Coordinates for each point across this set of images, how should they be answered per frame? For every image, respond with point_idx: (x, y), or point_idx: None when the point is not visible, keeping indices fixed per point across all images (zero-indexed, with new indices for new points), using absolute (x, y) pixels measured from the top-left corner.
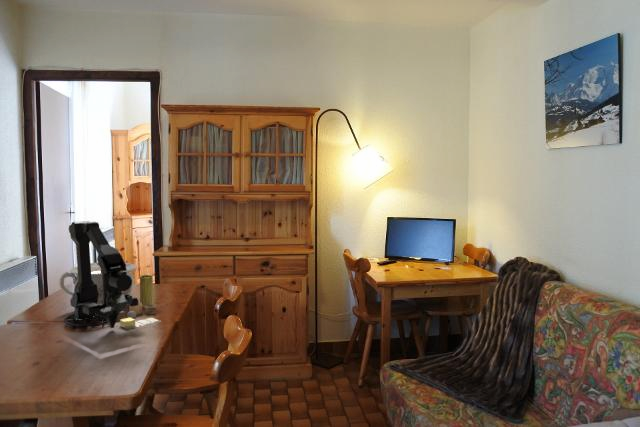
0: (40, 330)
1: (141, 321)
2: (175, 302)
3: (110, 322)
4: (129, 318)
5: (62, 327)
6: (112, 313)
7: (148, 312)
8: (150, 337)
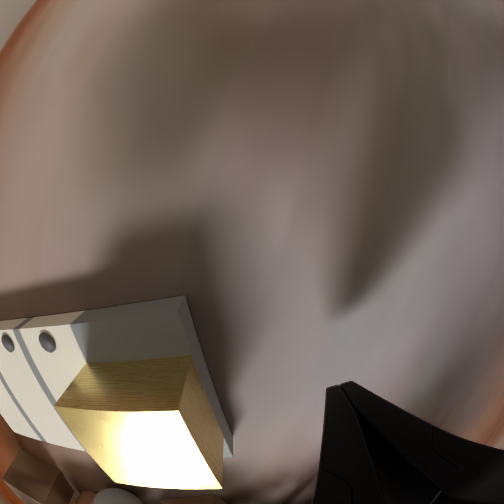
0: None
1: (51, 422)
2: None
3: (405, 413)
4: (117, 469)
5: None
6: (497, 498)
7: (38, 480)
8: (72, 32)
